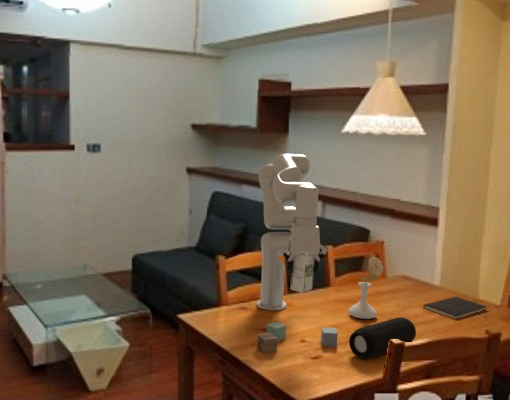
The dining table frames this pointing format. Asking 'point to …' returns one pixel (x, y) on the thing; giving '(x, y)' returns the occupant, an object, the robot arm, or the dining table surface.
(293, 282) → the syrup box
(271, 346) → the walnut cube
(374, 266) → the flower in vase
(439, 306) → the hardcover book
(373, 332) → the portable speaker
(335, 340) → the slate grey cube
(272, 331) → the sage green cube
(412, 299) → the dining table surface
